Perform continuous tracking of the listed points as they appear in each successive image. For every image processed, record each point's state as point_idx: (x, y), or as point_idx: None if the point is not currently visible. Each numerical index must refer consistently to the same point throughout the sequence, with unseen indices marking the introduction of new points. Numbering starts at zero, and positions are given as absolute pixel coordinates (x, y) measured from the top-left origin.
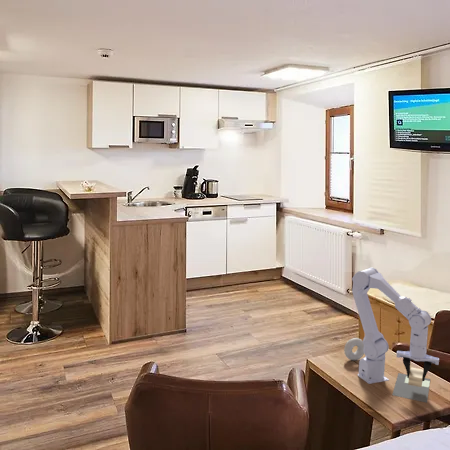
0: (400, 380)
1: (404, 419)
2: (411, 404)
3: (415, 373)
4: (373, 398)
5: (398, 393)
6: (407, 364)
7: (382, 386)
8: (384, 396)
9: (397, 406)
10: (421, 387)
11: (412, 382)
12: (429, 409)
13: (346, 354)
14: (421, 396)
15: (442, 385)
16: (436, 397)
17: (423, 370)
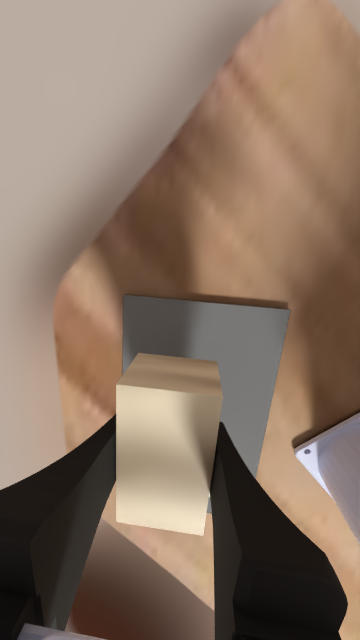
0: None
1: (234, 50)
2: (194, 257)
3: (169, 452)
4: None
5: (256, 338)
6: (261, 532)
7: (328, 390)
8: (328, 291)
9: (266, 203)
10: None
11: (191, 368)
12: (111, 240)
13: None
14: (150, 346)
15: None
16: (91, 366)
17: (87, 470)
